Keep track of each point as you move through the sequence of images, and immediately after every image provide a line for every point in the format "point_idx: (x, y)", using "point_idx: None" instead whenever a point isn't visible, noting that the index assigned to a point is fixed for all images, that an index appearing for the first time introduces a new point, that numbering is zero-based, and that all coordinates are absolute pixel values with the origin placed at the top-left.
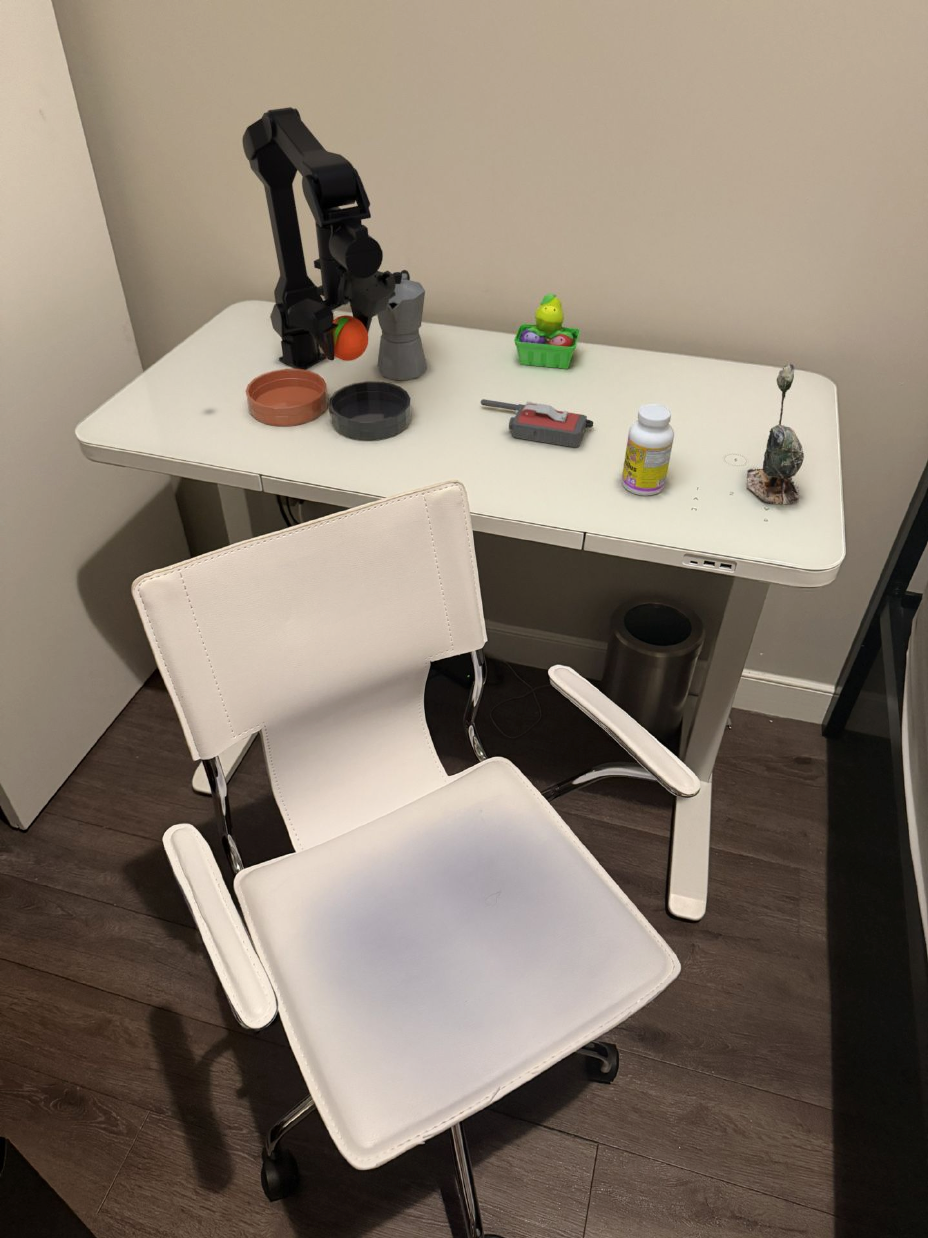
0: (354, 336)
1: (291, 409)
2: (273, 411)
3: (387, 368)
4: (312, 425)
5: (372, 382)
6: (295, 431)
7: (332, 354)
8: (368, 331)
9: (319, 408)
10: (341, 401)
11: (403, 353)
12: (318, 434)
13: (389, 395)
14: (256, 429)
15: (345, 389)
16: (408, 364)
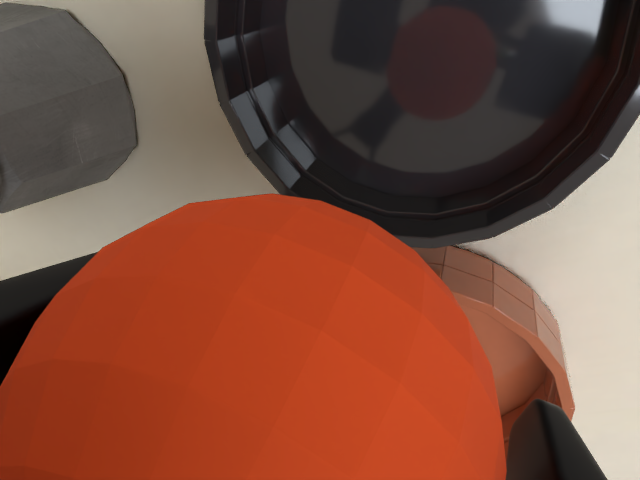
0: (347, 446)
1: (554, 352)
2: (573, 398)
3: (107, 132)
4: (525, 249)
5: (242, 126)
6: (584, 289)
7: (594, 470)
8: (40, 270)
9: (453, 261)
10: (378, 203)
11: (10, 83)
12: (595, 208)
13: (248, 31)
14: (590, 393)
15: None
16: (42, 51)
